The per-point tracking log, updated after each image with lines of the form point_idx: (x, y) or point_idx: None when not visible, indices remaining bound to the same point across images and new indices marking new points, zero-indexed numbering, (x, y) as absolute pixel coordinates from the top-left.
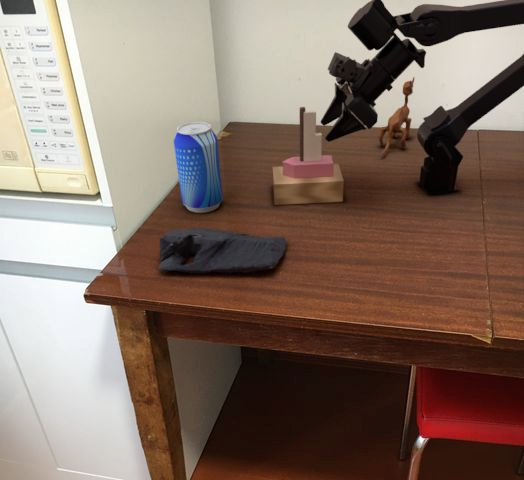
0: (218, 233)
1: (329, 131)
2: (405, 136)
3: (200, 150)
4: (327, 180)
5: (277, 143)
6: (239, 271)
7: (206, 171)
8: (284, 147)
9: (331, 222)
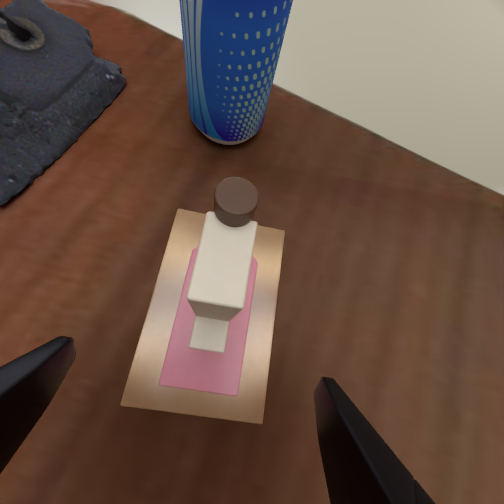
0: (38, 85)
1: (26, 365)
2: None
3: None
4: (143, 351)
5: (501, 312)
6: None
7: (183, 39)
8: (479, 322)
9: (39, 329)
